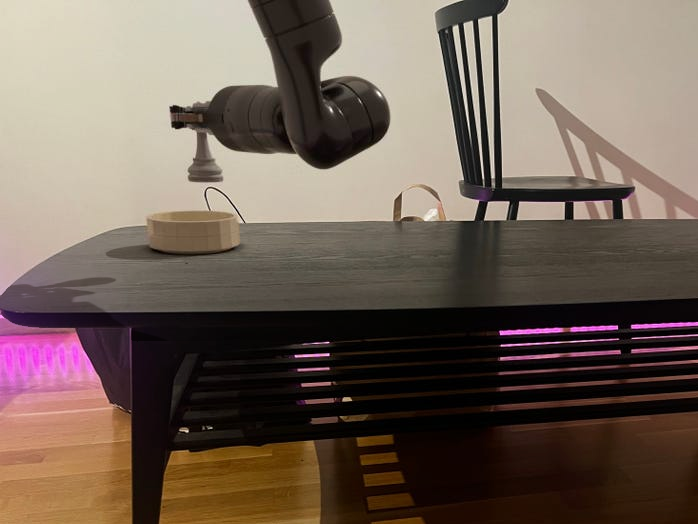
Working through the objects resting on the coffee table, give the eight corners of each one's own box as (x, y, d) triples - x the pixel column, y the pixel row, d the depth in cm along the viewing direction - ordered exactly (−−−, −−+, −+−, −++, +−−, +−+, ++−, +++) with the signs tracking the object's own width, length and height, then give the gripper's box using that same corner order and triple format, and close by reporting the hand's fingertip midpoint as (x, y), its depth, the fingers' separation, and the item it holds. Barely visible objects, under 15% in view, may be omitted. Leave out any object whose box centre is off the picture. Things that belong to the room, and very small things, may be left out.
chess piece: (227, 180, 95) (221, 102, 92) (217, 183, 91) (210, 101, 88) (194, 179, 95) (187, 101, 92) (183, 182, 91) (175, 100, 88)
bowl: (171, 259, 101) (168, 224, 100) (136, 246, 110) (132, 213, 108) (255, 249, 110) (253, 217, 109) (216, 238, 119) (213, 208, 117)
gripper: (306, 88, 85) (236, 90, 96) (194, 81, 75) (131, 83, 87) (309, 153, 87) (240, 147, 98) (201, 153, 78) (139, 147, 89)
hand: (189, 117), depth 92 cm, fingers closed on chess piece, 2 cm apart
